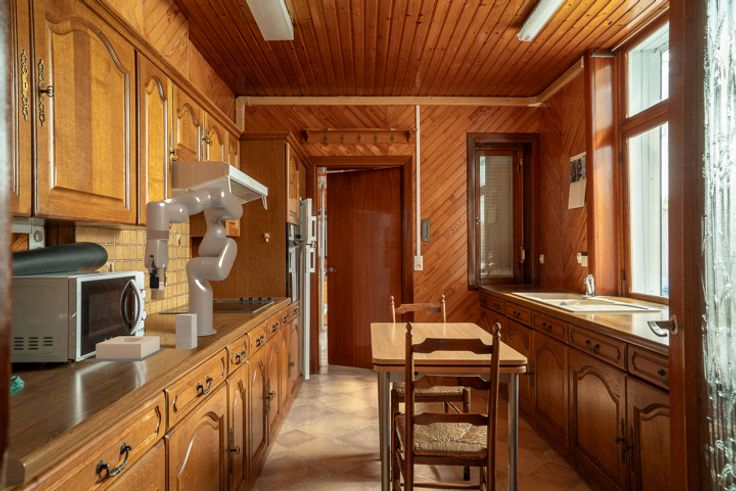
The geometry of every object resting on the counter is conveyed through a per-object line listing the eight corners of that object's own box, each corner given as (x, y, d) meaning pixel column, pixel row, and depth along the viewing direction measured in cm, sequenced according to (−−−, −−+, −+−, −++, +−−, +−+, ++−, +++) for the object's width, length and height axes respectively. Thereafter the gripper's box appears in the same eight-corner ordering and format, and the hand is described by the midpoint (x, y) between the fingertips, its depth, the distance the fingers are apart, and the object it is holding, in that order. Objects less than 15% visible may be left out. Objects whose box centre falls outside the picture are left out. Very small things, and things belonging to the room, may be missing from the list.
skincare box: (197, 347, 169) (197, 313, 169) (191, 350, 164) (191, 315, 164) (180, 347, 169) (181, 313, 169) (174, 349, 165) (175, 315, 165)
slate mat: (115, 349, 165) (115, 348, 165) (167, 349, 166) (167, 348, 166) (81, 362, 145) (81, 361, 145) (141, 362, 146) (141, 361, 146)
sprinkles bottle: (165, 299, 169) (165, 261, 169) (151, 300, 166) (151, 261, 166) (163, 298, 173) (163, 261, 173) (149, 299, 170) (149, 261, 170)
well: (118, 349, 163) (118, 336, 163) (159, 349, 164) (159, 336, 164) (95, 358, 149) (95, 344, 149) (140, 358, 150) (141, 344, 150)
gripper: (157, 237, 178) (156, 286, 178) (136, 235, 161) (135, 289, 161) (177, 237, 178) (177, 286, 178) (158, 235, 161) (158, 289, 161)
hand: (157, 287), depth 169 cm, fingers closed on sprinkles bottle, 4 cm apart
